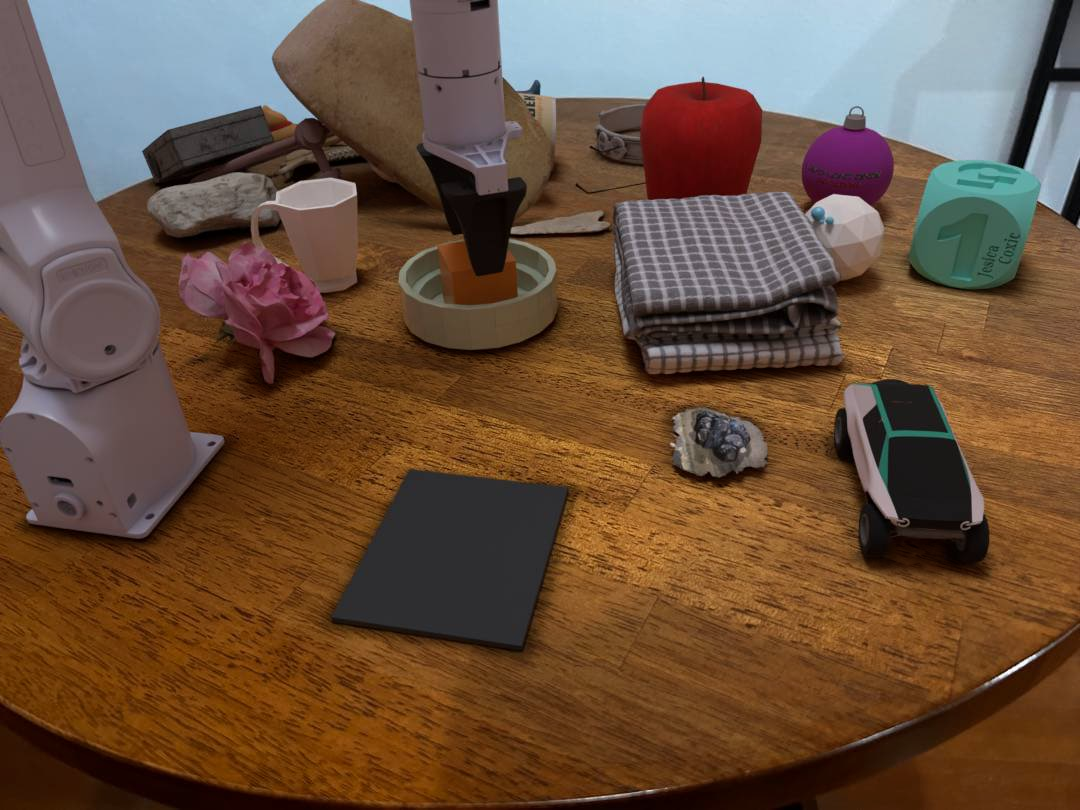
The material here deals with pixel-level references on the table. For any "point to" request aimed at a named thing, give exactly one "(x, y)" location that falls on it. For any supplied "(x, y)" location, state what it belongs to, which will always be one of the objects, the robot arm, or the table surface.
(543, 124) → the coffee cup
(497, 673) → the table surface
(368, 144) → the stone
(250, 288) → the flower
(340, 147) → the jawbone
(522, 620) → the mat
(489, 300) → the block
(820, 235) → the ornament
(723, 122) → the apple
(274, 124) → the toy
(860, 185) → the christmas ornament
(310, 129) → the toilet paper hanger
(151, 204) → the decorative stone
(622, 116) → the bracelet
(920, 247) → the decorative dice
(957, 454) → the toy car
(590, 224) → the stone tool
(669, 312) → the towel
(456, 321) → the bowl
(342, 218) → the cup
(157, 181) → the grey rectangular box
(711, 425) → the blueberries
